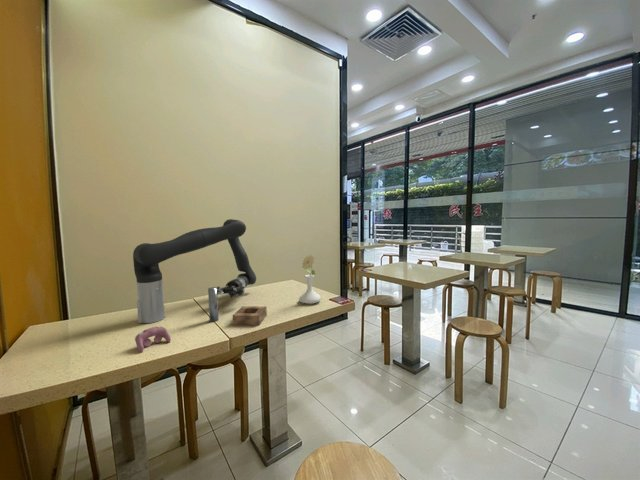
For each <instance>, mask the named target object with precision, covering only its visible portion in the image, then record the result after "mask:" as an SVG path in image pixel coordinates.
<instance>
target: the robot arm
mask: <svg viewBox="0 0 640 480" xmlns="http://www.w3.org/2000/svg"><path fill="white" fill-rule="evenodd" d="M246 230H247V226H246V224H245V222H244V221H241V220H238V219H233V218H232V219H231V218H230V219H226V220H225V221H224V222H223V224H222V225H221V226H214V227H206V228H199V229H195V230H192V231H191V230H190V231H189V232H185V233H183V234H181V235H180V236H177V237H176V238H173V239H170V240H167V241H162V242H155V243H148V242H146V243H144V242H143V243H140V244H139V245H137V246H136V247H135V248H134V250H133V253H132V259H133V270H134V271H133V272H134V275H135V278H136V288H137V290H136V291H137V301H136V304H137V305H136V306H137V320H138V324H150V323H151V324H152V323H156V322H159V321H162V320H163V319H165V318H166V317H165V315H166V314H165V299H164V285H163V282H164V281H163V274H162V272H161V269H160V266H159V264H160V263H162V262H164V261H167V260H169V259H172V258H174V257H176V256H180V255H183V254H188V253H190V252H195V251H197V250H200V249H204V248H207V247H209V246H212V245H215V244H218V243H220V242H222V241H227V242H228V244H229V246H230V249H231V251H232V254H233V256H234V257H233V258H234V260H235V264H236V269H237V270H238V271H239V272H242V273H239V274H238V275H237V277H235V278H233V279H232V280H230V281H228V282H227V283H226V285H225V286H223V287H222V286H216V287H217V296H219V295H220V296H223V295H229V296H230V298H233V297H236V296H242V295H243V294H244V293H245V289H246V288H247V286H250V285H255V284H256V281H257V276H256V274H255V272H254V270H253V269H252V266H251V264H250V261H249V257H248V254H247V252H246V250H245V248H244V247H243V245H242V243H241V241H240V237H242V236H243V235H244V234H245V232H246Z"/></svg>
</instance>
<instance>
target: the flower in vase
mask: <svg viewBox="0 0 640 480" xmlns="http://www.w3.org/2000/svg"><path fill="white" fill-rule="evenodd" d="M314 261H315V257H314V256H313V255H312V254H310V255H309V254H308V255H306V256H305V257H304V258H303V260H302V263H301V264H302V266H301V267H302V268H303V269H304V270H305V271H306V272H307V273H309V274H305V275H304V277H305V279H306V283H307V287H306V288H307V289H306V290H305V292H303V293H302V294H301V295H300V296H299V298H298V301H299V302H301V303H302V304H306V305H307V304H308V305H309V304H310V305H311V304H316V303H318V302H320V301H321V300H322V298H321V295H320V294H318V293H317V292H315V290H314V289H313V279H314V277H315V275H316V271H315V269H313V267H312V266H313V264H314V263H315V262H314ZM309 269H312V270H311V271H310V270H309Z"/></svg>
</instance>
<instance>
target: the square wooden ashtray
mask: <svg viewBox="0 0 640 480" xmlns="http://www.w3.org/2000/svg"><path fill="white" fill-rule="evenodd" d="M267 311H268V309H267V306H253V305H252V306H248V305H247V306H245V305H244V306H241V307H239V309H238V310H236V311H235V313H233V314H232V325H233V326H260V325H261V324H262V323H263V321H264V319H266V317H267V316H268V315H267V313H268V312H267Z"/></svg>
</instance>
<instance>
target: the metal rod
mask: <svg viewBox="0 0 640 480" xmlns="http://www.w3.org/2000/svg"><path fill="white" fill-rule="evenodd" d="M217 287H218V286H213V287H208V288H207V292H208V293H207V294H208V311H209V314H208V315H209V322H211V323H215V322H218V321H219V302H218V299H219V298H218V295H217Z"/></svg>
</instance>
